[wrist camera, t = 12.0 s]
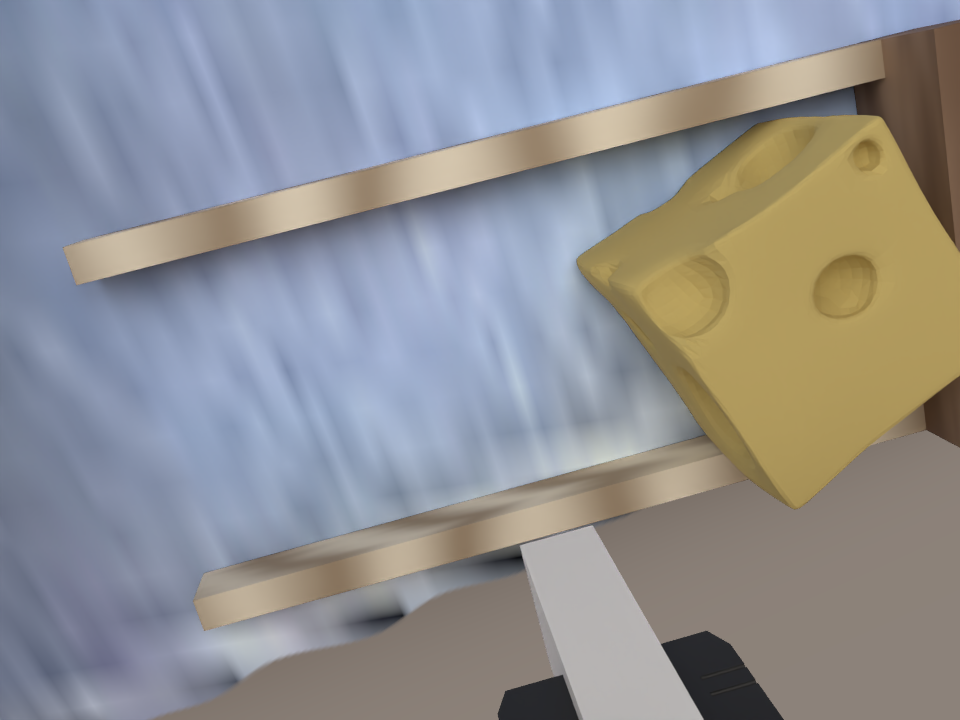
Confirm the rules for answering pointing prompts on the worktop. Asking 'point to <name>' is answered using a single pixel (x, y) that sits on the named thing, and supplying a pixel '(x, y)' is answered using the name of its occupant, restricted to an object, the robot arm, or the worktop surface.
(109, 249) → the channel
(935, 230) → the cheese
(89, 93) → the worktop surface
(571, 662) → the robot arm
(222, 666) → the worktop surface
